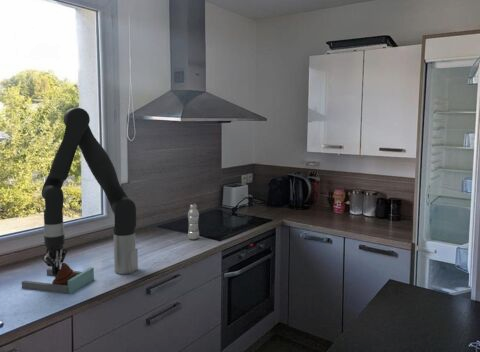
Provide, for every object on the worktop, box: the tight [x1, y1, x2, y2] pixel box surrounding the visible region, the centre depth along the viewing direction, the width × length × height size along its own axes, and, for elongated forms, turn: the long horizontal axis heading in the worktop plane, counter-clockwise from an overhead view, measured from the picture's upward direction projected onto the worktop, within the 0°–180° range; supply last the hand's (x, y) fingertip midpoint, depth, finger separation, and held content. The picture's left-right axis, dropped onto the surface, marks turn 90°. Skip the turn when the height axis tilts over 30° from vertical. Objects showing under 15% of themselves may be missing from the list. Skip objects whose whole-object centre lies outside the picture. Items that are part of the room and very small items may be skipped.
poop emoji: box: [51, 262, 76, 286], centre depth 167 cm, size 10×8×9 cm
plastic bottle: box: [187, 203, 200, 240], centre depth 233 cm, size 6×7×20 cm
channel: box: [21, 267, 95, 294], centre depth 169 cm, size 22×16×5 cm
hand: (56, 274), depth 169 cm, fingers closed
